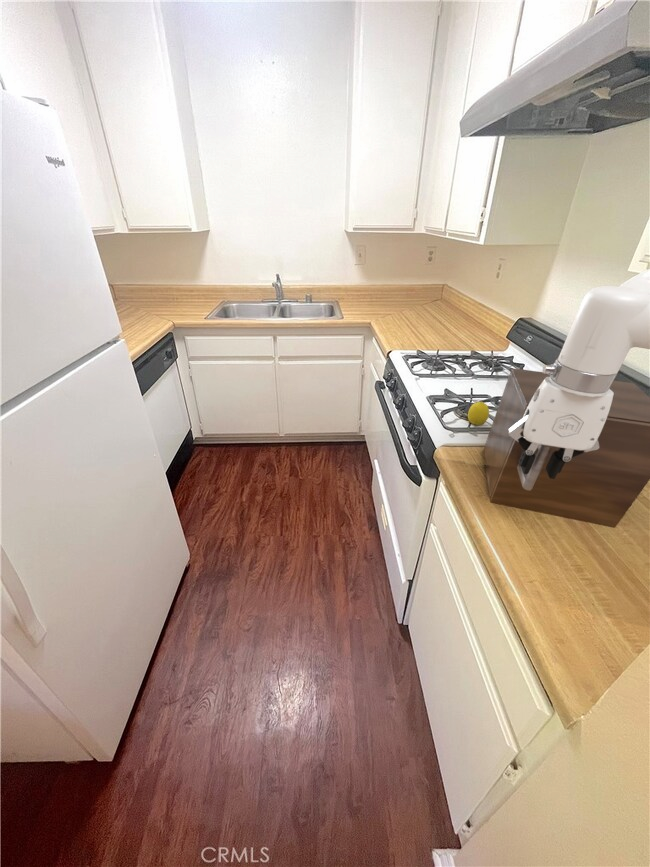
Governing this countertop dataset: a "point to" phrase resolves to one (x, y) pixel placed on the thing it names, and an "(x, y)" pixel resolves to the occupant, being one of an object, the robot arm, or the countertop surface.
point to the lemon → (478, 413)
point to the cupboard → (517, 397)
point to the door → (582, 477)
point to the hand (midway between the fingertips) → (536, 470)
